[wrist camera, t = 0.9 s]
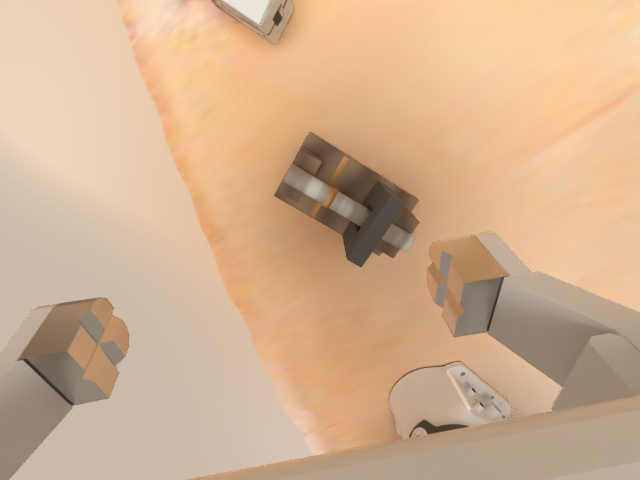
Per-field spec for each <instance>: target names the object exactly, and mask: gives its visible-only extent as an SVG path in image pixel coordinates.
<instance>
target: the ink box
mask: <svg viewBox="0 0 640 480" xmlns="http://www.w3.org/2000/svg"><path fill="white" fill-rule="evenodd" d="M211 2H213V3H214V4H215V5H216V6H217V7H218V8H220V9H221V10H223V11H224V12H226V13H227V14H229V15H230V16H232V17H233V18H235V19H236V20H238V21H239V22H241V23H242V24H244V25H245V26H247V27H248V28H250V29H251V30H253V31H254V32H256V33H257V34H259V35H260V36H262V37H263V38H265V39H266V40H268V41H269V42H271V43H272V44H274V45H277V43H278V41H279V39H280V37H281V35H282V33H283V31H284V29H285V27H286V25H287V23H288V21H289V19H290V17H291V15H292V13H293V11H294V7H293V4H292V0H211Z"/></svg>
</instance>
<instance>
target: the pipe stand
mask: <svg viewBox="0 0 640 480" xmlns="http://www.w3.org/2000/svg"><path fill="white" fill-rule="evenodd" d="M377 181H380V182H382V183H383V184H385V185H386V186H388V187H390V188H391V189H392V190H393V191H394V193H395V194H396V195H397V196H398V197H399V198H400V199H401V200H402V201H403V202H404V204H405V206H404V207H403V209H402V210H401V212H400V213H399V214H398V216H397V217H396V219H395V220H394V222H393V223H392V224H391V226H390V227H389V229H388V230H387V232H386V233H385V234H384V236H383V237H382V239H381V240H380V241H379V243H378V244H377V246H376V247H375V249H374V250H373V251H372V252H373V253H375V254H377V255H378V256H380V254H381V253H382V252H383V253H385V254H387V255H388V256H390V257H392V258H394V256H395V255H396V254H397V252H398V251H399V250H402V251H403V252H406V251H407V250H409V249H410V247H411V246H412V244H413V242H414V236H413V235H411V233H412V232H413V231H414V229H415V228H416V226H417V225H418V224H419V221H418V220H417V219H416V218H415V216H414V215H413V214H412V213H411V211H412V210H413V208H414V207H415V205H416V204H417V203H418V201H419V200H418V199H417V198H415V197H413V196H412V195H410V194H409V193H407V192H405V191H404V190H402V189H401V188H399V187H397V186H396V185H394V184H393V183H391V182H389V181H388V180H386V179H385V178H383V177H381V176H380V175H378V174H377V173H375V172H373V171H372V170H370V169H369V168H367V167H365V166H364V165H362V164H360V163H359V162H357V161H356V160H354V159H352V158H351V157H349V156H348V155H346V154H344V153H343V152H341V151H340V150H338V149H336V148H335V147H333V146H332V145H330V144H328V143H327V142H325V141H324V140H322V139H320V138H319V137H317V136H316V135H314V134H312V133H311V132H310V133H309V135H308V136H307V138H306V140H305V142H304V144H303V145H302V147H301V149H300V151H299V152H298V154H297V156H296V158H295V160H294V161H293V163H292V165H291V167H290V168H289V170H288V172H287V174H286V176H285V177H284V179H283V181H282V183H281V184H280V186H279V188H278V190H277V192H276V193H275V195H274V196H275V197H277V198H279V199H281V200H282V201H284V202H286V203H287V204H289V205H291V206H293V207H294V208H296V209H298V210H300V211H301V212H303V213H305V214H307V215H308V216H310V217H312V218H314V219H315V220H317V221H319V222H321V223H322V224H324V225H326V226H328V227H329V228H331V229H333V230H335V231H336V232H338V233H340V234H343V232H344V231H345V229H346V228H347V226H348V225H349V223H350V222H351V221H352V222H354V223H355V224H357V225H359V226H360V227H362V225H363V224H364V222H365V221H366V219H367V218H368V216H369V215H370V213H371V212H372V211H371V210H369V209H367V208H366V207H364V206H362V204H363V202H364V201H365V199H366V198H367V196H368V195H369V193H370V192H371V190H372V189H373V187H374V185H375V184H376V182H377Z"/></svg>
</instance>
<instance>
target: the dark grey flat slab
mask: <svg viewBox="0 0 640 480" xmlns="http://www.w3.org/2000/svg"><path fill="white" fill-rule="evenodd" d="M362 206H364V207H366V208H367V209H369V210H371V211H372V212H371V213H370V215H369V216H368V218H367V219H366V221H365V222H364V224H363V225H362V227H360V226H359V225H357V224H355V223H354V222H352V221H351V222H350V223H349V225H348V226H347V228H346V229H345V231H344V232H343V234H342V235H343V240H344V246H345V251H346V257H347V260H349V261H351V262H352V263H354V264H356V265H358V266H359V267H362V266H363V264H364V263H365V261H366V260H367V258H368V257H369V256H370V254H371V253H372V251H373V250H374V249H375V247H376V246H377V244H378V243H379V241H380V240H381V239H382V237H383V236H384V234H385V233H386V232H387V230H388V229H389V227H390V226H391V224H392V223H393V222H394V220H395V219H396V217H397V216H398V214H399V213H400V212H401V210H402V209H403V207H404V206H405V204H404V202H403V201H402V200H401V199H400V198H399V197H398V196H397V195H396V194H395V193H394V191H393V190H392V189H391V188H390V187H388V186H386V185H385V184H383V183H382V182H380V181H377V182H376V184H375V185H374V187H373V189H372V190H371V192H370V193H369V195H368V196H367V198H366V199H365V201H364V202H363V204H362Z"/></svg>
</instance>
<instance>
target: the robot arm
mask: <svg viewBox="0 0 640 480" xmlns="http://www.w3.org/2000/svg"><path fill="white" fill-rule="evenodd" d="M429 256H430V258H431V259H432V261H433V262H432V264H431V265H430V266H429V267H428V269H427V281H428V288H429V291H430V294H431V296H432V298H433V300H434V302H435V303H436V304H438V305H439V306H441V307H443V314H442V317H443V319H444V320H445V322H446V324H447V326H448V328H449V330H450V331H451V333H452V335H453V337H458V336H465V335H472V334H478V333H485V332H488V334H489V335H490V336H492V337H493V338H494V339H496V340H497V341H499V342H500V343H501V344H503V345H504V346H506V347H507V348H509V349H510V350H511V351H513V352H514V353H516V354H517V355H518V356H520V357H521V358H523V359H524V360H525V361H527V362H528V363H530V364H531V365H532V366H534V367H535V368H537V369H538V370H539V371H541V372H542V373H544V374H545V375H546V376H548V377H549V378H551V379H552V380H553V381H555V382H556V383H558V384H559V385H560V386H562V388H561V390H560V392H559V394H558V395H557V397H556V399H555V401H554V403H553V406H552V408H551V409H552V410H553V411H551V412H545V413H540V414H535V415H529V416H524V417H519V418H513V419H508V418H509V416H510V413H511V405H510V403H509V402H508V401H507V400H506V399H504V398H503V397H502V396H501V395H500V394H498V393H497V392H496V391H495V390H494V389H493V388H491V387H490V386H489V385H488V384H487V383H485V382H484V381H483V380H482V379H481V378H479V377H478V376H477V375H476V374H475V373H474V372H472V371H471V370H470V369H469V368H468V367H466V366H465V365H464V364H463V363H461V362H454V363H451V364H448V365H445V366H442V367H430V368H423V369H419V370H416V371H413V372H411V373H409V374H407V375H406V376H404V377H403V378H402V379H400V380H399V381H398V382H397V383H396V385H395V386H394V388H393V389H392V391H391V394H390V398H389V405H390V409H391V412H392V414H393V416H394V418H395V429H396V432H397V434H398V435H399V436H401V437H402V439H401V440H396V441H391V442H385V443H380V444H375V445H369V446H364V447H358V448H353V449H348V450H342V451H337V452H332V453H326V454H321V455H316V456H311V457H305V458H300V459H295V460H289V461H284V462H278V463H273V464H268V465H262V466H257V467H252V468H246V469H241V470H236V471H231V472H225V473H220V474H215V475H209V476H204V477H199V478H194V479H188V480H640V312H637V311H635V310H632V309H630V308H627V307H625V306H622V305H620V304H617V303H615V302H613V301H610V300H608V299H605V298H603V297H600V296H598V295H595V294H593V293H591V292H588V291H586V290H583V289H581V288H578V287H576V286H573V285H571V284H569V283H566V282H564V281H561V280H559V279H556V278H554V277H551V276H549V275H547V274H544V273H542V272H532V271H531V270H530V269H529V268H528V267H527V266H526V265H525V264H524V263H523V262H522V261H521V260H520V259H519V257H518V256H517V255H516V254H515V253H514V252H513V251H512V250H511V249H510V248H509V247H508V246H507V245H506V244H505V243H504V242H503V241H502V240H501V239H500V238H499V237H498V235H497V234H495V233H493V232H491V231H490V232H485V233H479V234H474V235H471V236H465V237H460V238H454V239H448V240H442V241H436V242H432V243H431V246H430V250H429ZM113 310H114V307H113V306H112V304H111V303H110V302H109V300H108V299H107V298H101V297H100V298H93V299H86V300H79V301H72V302H66V303H60V304H53V305H47V306H40V307H37V308H36V309H34V310H32V311H31V312H30V313H29V314H28V316H27V317H26V319H25V320H24V321H23V323H22V324H21V325H20V327H19V328H18V329H17V331H16V332H15V333H14V335H13V336H12V337H11V339H10V340H9V342H8V343H7V345H6V346H5V347H4V348H3V350H2V351H1V352H0V480H9V479H10V478H11V477H12V476H13V475H14V473H15V472H16V471H17V470H18V469H19V468H20V467H21V466H22V464H23V463H24V462H25V461H26V460H27V459H28V458H29V456H30V455H31V454H32V453H33V452H34V451H35V450H36V449H37V448H38V446H39V445H40V444H41V443H42V442H43V441H44V439H46V437H47V436H48V435H49V434H50V433H51V432H52V431H53V429H54V428H55V427H56V426H57V425H58V424H59V423H60V422H61V420H62V419H63V418H64V417H65V416H66V415H67V414H68V413H69V411H70V410H71V409H72V406H74V405H79V404H84V403H88V402H93V401H98V400H103V399H108V398H110V395H111V392H112V390H113V387H114V385H115V382H116V380H117V377H118V375H119V371H118V369H117V367H116V365H117V364H118V363H119V362H120V361H121V360H122V359H123V358H124V357H125V356H126V353H127V351H128V348H129V332H128V329H127V326H126V325H125V323H124V322H123V320H122V319H120V318H118V317H116V316H114V315H112V313H113ZM462 372H463V373H462Z"/></svg>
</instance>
